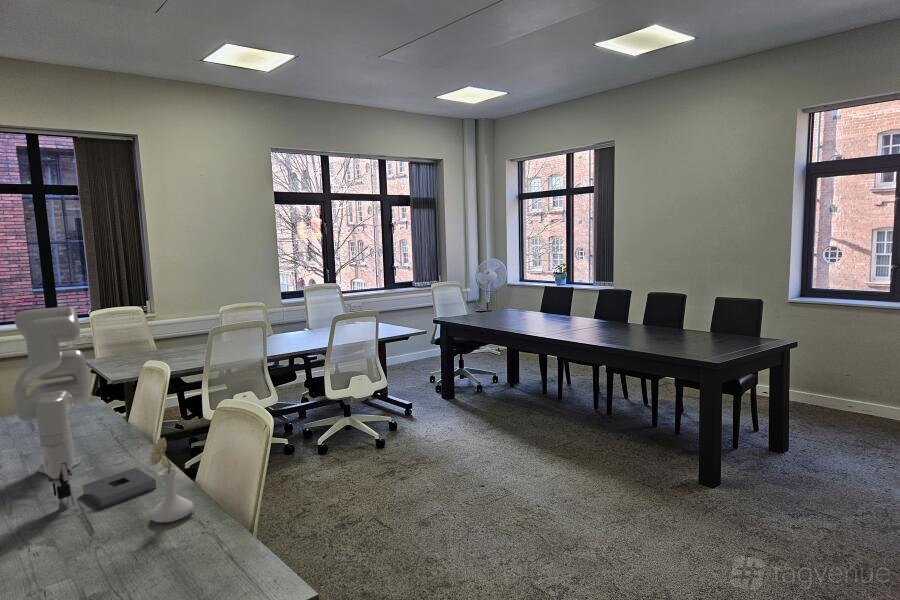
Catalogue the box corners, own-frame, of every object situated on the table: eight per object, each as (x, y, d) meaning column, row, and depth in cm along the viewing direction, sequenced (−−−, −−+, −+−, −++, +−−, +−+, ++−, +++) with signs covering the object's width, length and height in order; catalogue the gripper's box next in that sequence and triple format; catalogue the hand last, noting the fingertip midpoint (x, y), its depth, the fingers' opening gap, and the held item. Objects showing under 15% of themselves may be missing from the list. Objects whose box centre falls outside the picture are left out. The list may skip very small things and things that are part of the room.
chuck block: (83, 494, 177) (82, 485, 177) (136, 476, 189) (135, 467, 189) (102, 507, 167) (100, 498, 167) (156, 487, 179) (155, 479, 179)
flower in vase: (153, 512, 163) (143, 431, 160) (195, 503, 167) (186, 424, 164) (148, 533, 151) (138, 446, 148) (193, 523, 155) (184, 438, 152)
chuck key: (51, 510, 167) (46, 476, 165) (74, 502, 171) (69, 469, 170) (54, 513, 165) (49, 478, 163) (77, 505, 169) (72, 471, 168)
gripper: (31, 436, 168) (39, 493, 170) (48, 447, 157) (56, 508, 159) (60, 429, 173) (67, 484, 176) (78, 439, 163) (86, 498, 165)
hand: (62, 495), depth 167 cm, fingers closed on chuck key, 3 cm apart
